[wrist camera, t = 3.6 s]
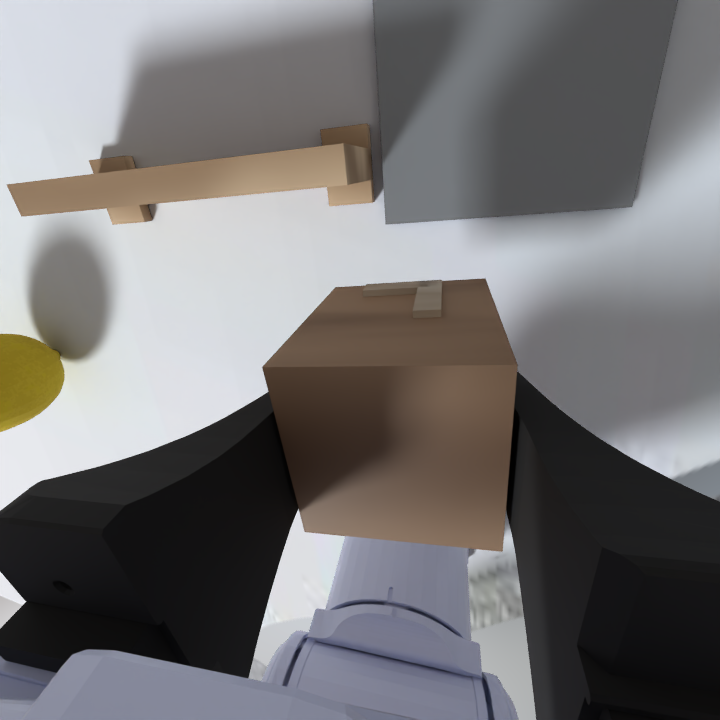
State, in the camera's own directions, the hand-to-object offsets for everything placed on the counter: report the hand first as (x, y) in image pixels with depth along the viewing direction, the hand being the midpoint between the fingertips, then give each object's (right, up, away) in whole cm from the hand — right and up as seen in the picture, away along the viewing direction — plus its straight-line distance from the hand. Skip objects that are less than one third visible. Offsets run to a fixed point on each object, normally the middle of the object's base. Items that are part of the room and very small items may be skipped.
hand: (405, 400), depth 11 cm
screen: (-8, +10, +7) cm, 14 cm away
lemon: (-22, +2, +15) cm, 27 cm away
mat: (+4, +12, +3) cm, 13 cm away
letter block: (0, +2, +2) cm, 3 cm away
